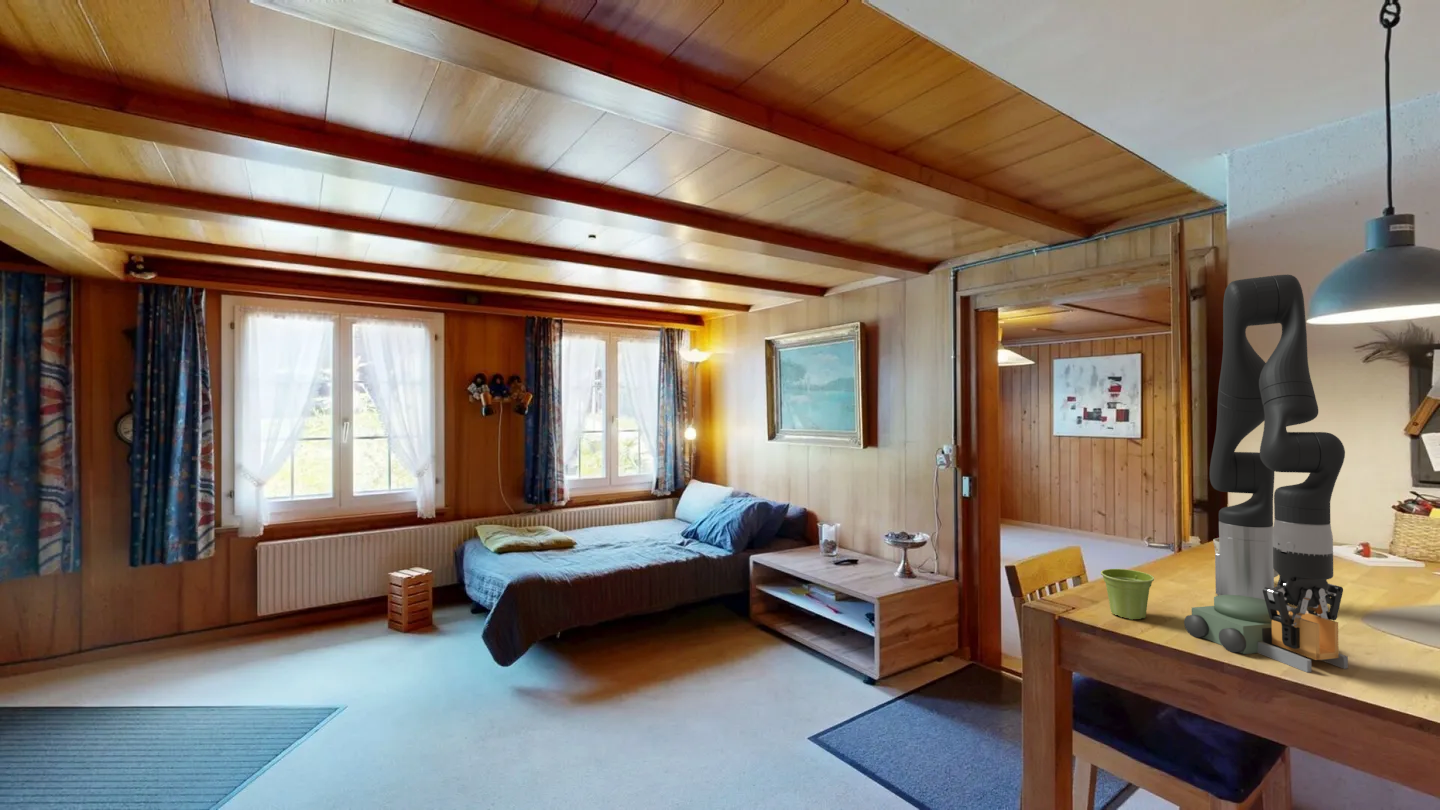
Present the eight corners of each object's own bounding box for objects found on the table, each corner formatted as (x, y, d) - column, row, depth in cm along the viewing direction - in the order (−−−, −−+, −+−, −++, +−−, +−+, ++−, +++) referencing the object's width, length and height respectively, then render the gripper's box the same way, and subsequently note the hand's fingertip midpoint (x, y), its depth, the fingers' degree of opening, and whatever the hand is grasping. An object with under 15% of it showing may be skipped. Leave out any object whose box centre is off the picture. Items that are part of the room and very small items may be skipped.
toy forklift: (1184, 632, 118) (1183, 596, 118) (1255, 626, 120) (1255, 591, 120) (1286, 674, 100) (1285, 632, 100) (1368, 666, 102) (1367, 624, 102)
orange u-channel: (1271, 643, 108) (1271, 610, 108) (1293, 641, 108) (1292, 608, 108) (1316, 660, 101) (1315, 624, 101) (1338, 657, 101) (1338, 622, 101)
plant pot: (1107, 620, 125) (1107, 579, 125) (1096, 605, 134) (1096, 566, 134) (1161, 625, 122) (1160, 582, 122) (1146, 610, 131) (1145, 570, 131)
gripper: (1312, 540, 109) (1313, 634, 109) (1244, 544, 107) (1246, 640, 107) (1362, 550, 102) (1363, 651, 102) (1290, 555, 100) (1292, 658, 100)
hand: (1303, 645), depth 105 cm, fingers closed on orange u-channel, 4 cm apart
